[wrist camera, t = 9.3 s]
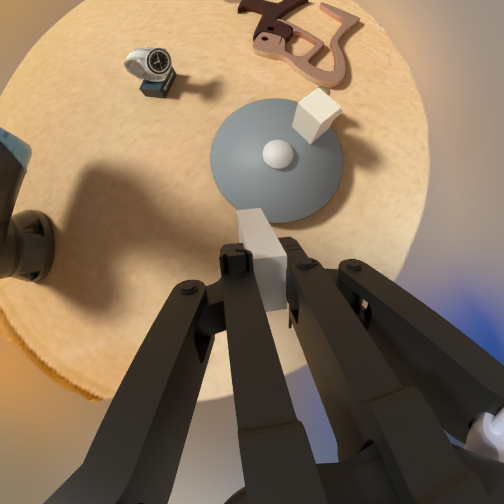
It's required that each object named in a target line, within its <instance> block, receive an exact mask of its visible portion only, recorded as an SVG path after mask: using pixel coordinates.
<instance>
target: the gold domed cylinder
mask: <svg viewBox="0 0 504 504" xmlns="http://www.w3.org/2000/svg"><path fill="white" fill-rule="evenodd" d="M319 88H320V89H321V90H322V91H323V92H325V93H326V94H327V95H328V96H329V95H330V90H329V88H327V87H326V86H319Z"/></svg>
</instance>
